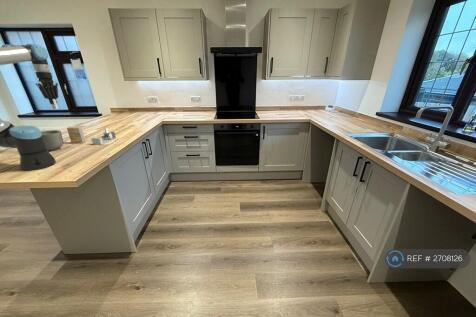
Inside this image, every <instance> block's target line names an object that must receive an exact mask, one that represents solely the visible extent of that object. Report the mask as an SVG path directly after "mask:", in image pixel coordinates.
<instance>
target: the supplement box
mask: <svg viewBox="0 0 476 317" xmlns="http://www.w3.org/2000/svg"><path fill="white" fill-rule="evenodd" d="M66 130H67V134H68V136H69V139H70V142H71V144H83V143H85V142H86V140H85V136H84V133H83V129H82V126H68V127H67V128H66Z"/></svg>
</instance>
